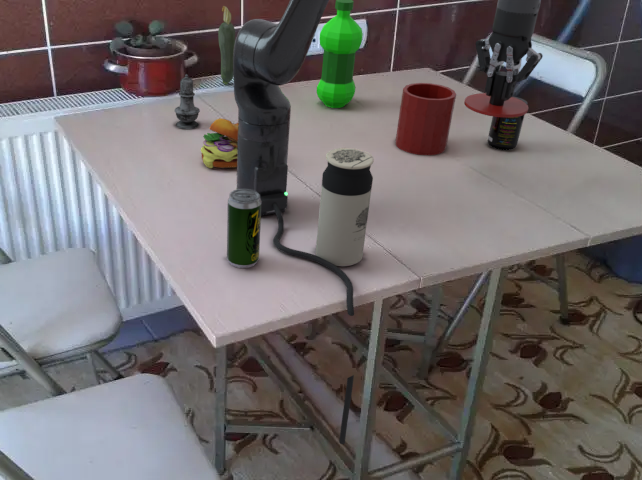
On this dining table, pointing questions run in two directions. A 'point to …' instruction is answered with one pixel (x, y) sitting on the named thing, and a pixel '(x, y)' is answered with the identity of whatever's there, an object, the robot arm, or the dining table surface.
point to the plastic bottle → (339, 56)
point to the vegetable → (226, 46)
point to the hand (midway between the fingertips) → (497, 97)
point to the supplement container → (505, 131)
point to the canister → (425, 118)
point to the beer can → (243, 228)
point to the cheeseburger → (221, 145)
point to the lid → (496, 101)
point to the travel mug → (344, 206)
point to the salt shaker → (187, 105)
